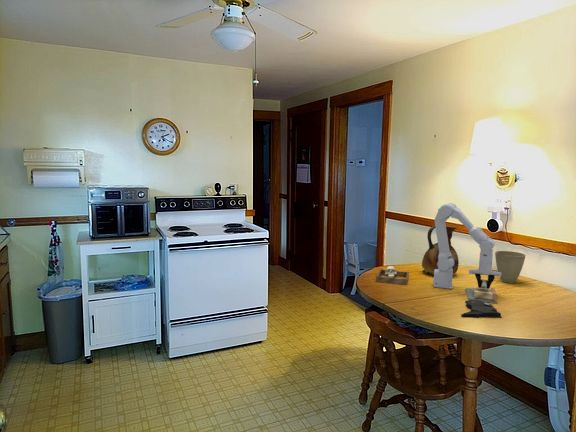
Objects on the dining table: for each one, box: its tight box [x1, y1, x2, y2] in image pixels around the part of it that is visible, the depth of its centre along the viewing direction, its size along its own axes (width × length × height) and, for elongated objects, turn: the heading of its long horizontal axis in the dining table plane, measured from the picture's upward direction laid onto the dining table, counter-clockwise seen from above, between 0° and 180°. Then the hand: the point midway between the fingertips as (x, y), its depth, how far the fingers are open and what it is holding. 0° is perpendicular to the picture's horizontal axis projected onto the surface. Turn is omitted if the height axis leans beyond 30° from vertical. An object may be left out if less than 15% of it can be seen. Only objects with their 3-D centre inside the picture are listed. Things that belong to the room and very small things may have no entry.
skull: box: [384, 265, 398, 278], centre depth 223 cm, size 12×10×10 cm
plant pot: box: [494, 250, 526, 284], centre depth 223 cm, size 15×15×16 cm
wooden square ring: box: [472, 286, 493, 300], centre depth 193 cm, size 8×8×3 cm
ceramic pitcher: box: [421, 224, 460, 275], centre depth 236 cm, size 20×20×30 cm
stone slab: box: [460, 299, 502, 319], centre depth 178 cm, size 22×16×5 cm
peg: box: [480, 278, 488, 288], centre depth 201 cm, size 3×3×6 cm
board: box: [464, 287, 498, 304], centre depth 197 cm, size 12×18×4 cm, turn 161°
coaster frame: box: [375, 268, 410, 286], centre depth 224 cm, size 16×16×3 cm
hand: (483, 289), depth 201 cm, fingers closed on peg, 3 cm apart
